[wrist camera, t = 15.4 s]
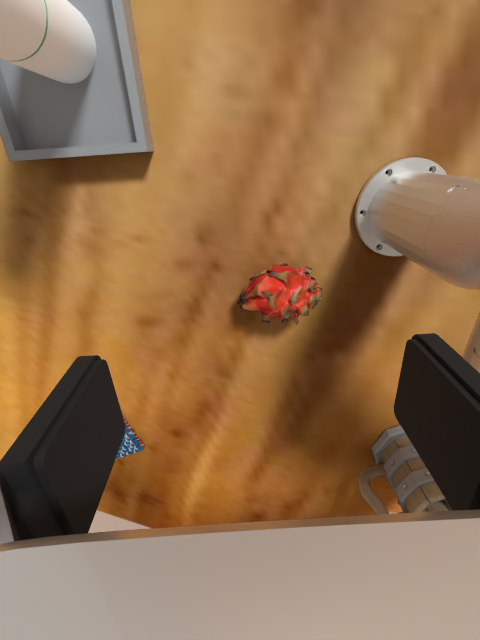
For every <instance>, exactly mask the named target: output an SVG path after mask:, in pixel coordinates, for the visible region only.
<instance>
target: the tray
mask: <svg viewBox="0 0 480 640" xmlns="http://www.w3.org/2000/svg"><path fill="white" fill-rule="evenodd" d="M67 1H68V2H70V3H71V4H72V5H73V6H74V7H75V8H76V9H77V10H78V11H79V12H81V14H82V15H83V16H84V17H85V19H86V20H87V22H88V24H89V25H90V27H91V29H92V32H93V34H94V38H95V42H96V61H95V64H94V67H93V69H92V71H91V73H90V74H89V75H88V77H87V78H85V79H84V80H83V81H81V82H78V83H74V84H66V83H61V82H59V81H56V80H53V79H51V78H48V77H46V76H43V75H40V74H38V73H35V72H33V71H30V70H28V69H25V68H23V67H20V66H17V65H15V64H12V63H10V62H7V61H5V60H2V59H0V135H1V138H2V141H3V144H4V147H5V150H6V153H7V156H8V159H9V161H24V160H38V159H52V158H67V157H81V156H95V155H109V154H123V153H137V152H151V151H154V150H153V144H152V137H151V131H150V125H149V119H148V112H147V106H146V100H145V94H144V88H143V81H142V75H141V69H140V63H139V57H138V50H137V44H136V38H135V32H134V26H133V19H132V13H131V7H130V1H129V0H67Z"/></svg>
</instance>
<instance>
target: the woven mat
mask: <svg viewBox="0 0 480 640" xmlns="http://www.w3.org/2000/svg"><path fill="white" fill-rule="evenodd" d="M123 419H124V418H123ZM124 422H125V435H124V438H123V441H122V443H121V446H120V449H119V451H118V454H117V457H116V459H118V458H119V457H120V456H121V457H123V456H126V455H129V454H133V453H137V452H139V451H141V450H142V449H144V447H145V446H144V445H143V444H142V443H143V442H141V440H140V439H139V438H138V437H137V436H136V434H135V433H134V432H135V431H134V430H132V428H131V427H130V425H128V422H126V420H125V419H124ZM138 445H140V446H138ZM116 459H115V460H116Z"/></svg>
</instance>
